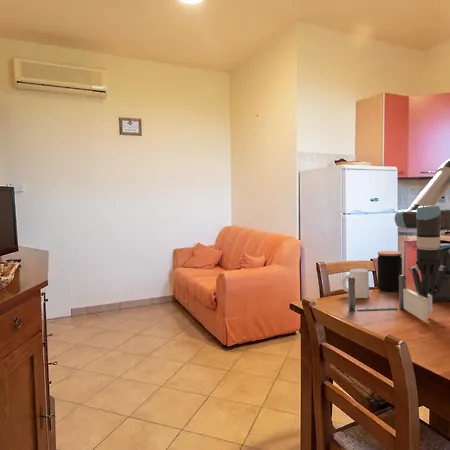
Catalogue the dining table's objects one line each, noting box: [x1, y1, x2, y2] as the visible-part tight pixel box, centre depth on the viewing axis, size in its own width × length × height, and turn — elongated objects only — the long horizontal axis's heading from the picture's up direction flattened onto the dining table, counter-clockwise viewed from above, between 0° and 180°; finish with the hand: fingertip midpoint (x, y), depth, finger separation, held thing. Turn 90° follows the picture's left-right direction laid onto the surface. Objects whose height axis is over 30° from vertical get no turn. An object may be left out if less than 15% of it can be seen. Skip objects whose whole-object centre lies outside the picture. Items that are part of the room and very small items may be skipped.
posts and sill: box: [347, 274, 407, 312], centre depth 147 cm, size 23×3×14 cm, turn 89°
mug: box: [340, 268, 370, 299], centre depth 168 cm, size 8×12×12 cm
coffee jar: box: [377, 250, 403, 293], centre depth 178 cm, size 11×11×18 cm
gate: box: [403, 288, 429, 322], centre depth 137 cm, size 15×2×8 cm, turn 179°
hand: (428, 311), depth 136 cm, fingers closed
